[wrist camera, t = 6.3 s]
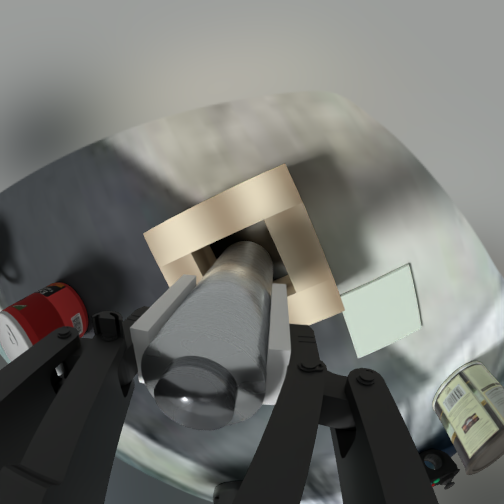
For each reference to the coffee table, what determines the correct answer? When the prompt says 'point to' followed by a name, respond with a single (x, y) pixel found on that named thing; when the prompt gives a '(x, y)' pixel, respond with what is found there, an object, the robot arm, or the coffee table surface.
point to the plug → (215, 344)
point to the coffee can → (473, 415)
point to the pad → (381, 311)
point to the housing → (239, 217)
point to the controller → (439, 467)
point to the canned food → (40, 317)
